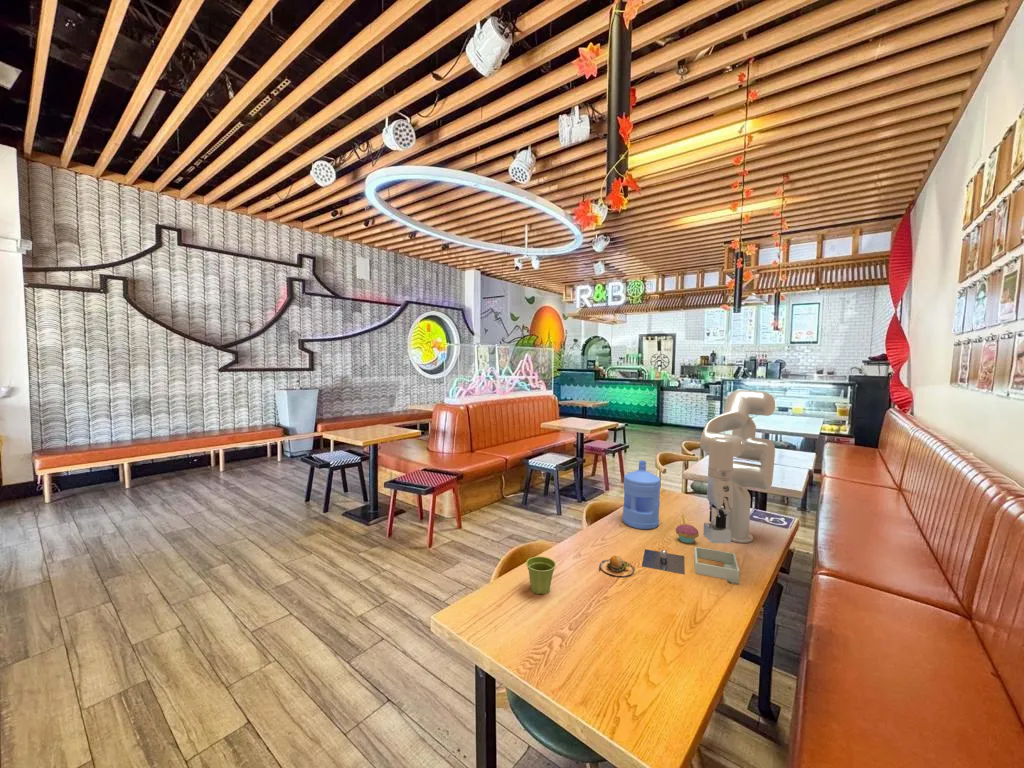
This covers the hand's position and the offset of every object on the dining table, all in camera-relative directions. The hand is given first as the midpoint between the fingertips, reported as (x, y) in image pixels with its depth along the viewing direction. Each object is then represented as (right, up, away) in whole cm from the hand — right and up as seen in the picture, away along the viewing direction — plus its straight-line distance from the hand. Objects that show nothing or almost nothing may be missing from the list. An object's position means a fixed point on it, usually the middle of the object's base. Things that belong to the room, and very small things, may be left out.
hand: (717, 524), depth 146 cm
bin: (0, -17, +1) cm, 17 cm away
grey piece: (0, -5, 0) cm, 5 cm away
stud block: (-17, -16, +6) cm, 24 cm away
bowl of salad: (-35, -17, 0) cm, 39 cm away
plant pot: (-62, -17, -11) cm, 66 cm away
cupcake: (-1, -15, +23) cm, 28 cm away
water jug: (-14, -14, +42) cm, 47 cm away
